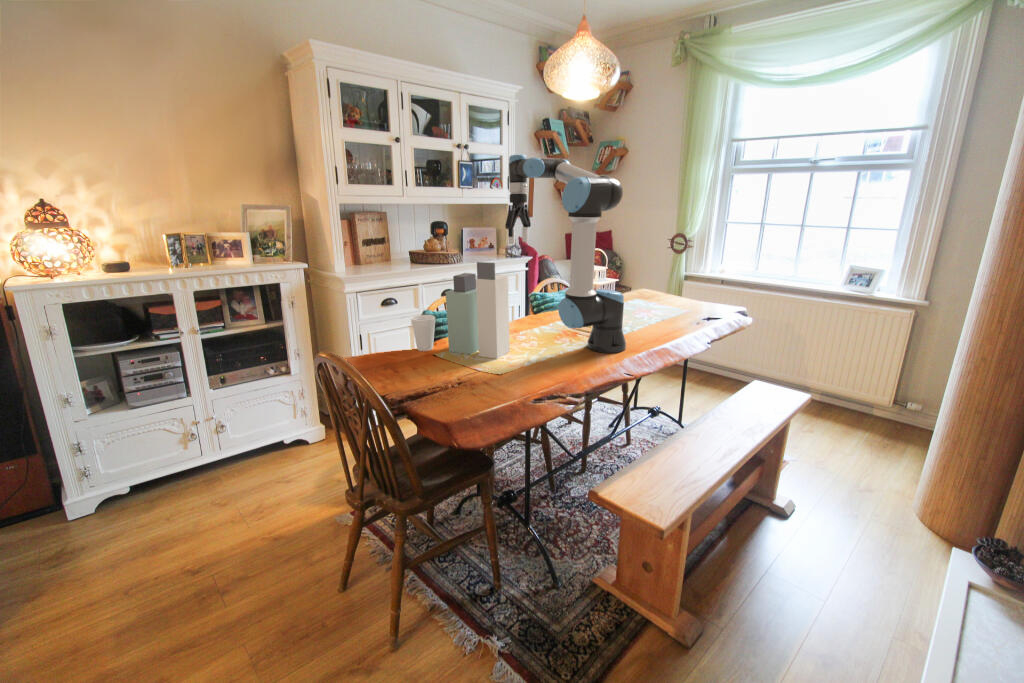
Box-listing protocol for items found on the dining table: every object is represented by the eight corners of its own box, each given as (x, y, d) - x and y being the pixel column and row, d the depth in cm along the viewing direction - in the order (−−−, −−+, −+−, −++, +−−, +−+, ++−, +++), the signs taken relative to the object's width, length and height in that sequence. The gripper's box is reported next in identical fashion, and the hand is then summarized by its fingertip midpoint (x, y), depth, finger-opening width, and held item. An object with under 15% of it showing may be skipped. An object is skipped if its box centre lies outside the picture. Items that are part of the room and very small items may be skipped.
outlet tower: (509, 351, 187) (507, 259, 176) (497, 359, 178) (494, 263, 168) (491, 348, 190) (489, 259, 180) (479, 356, 182) (475, 262, 171)
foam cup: (412, 346, 195) (410, 315, 191) (434, 344, 198) (432, 314, 194) (414, 353, 186) (412, 321, 182) (438, 350, 189) (436, 319, 185)
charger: (488, 284, 195) (488, 270, 193) (465, 292, 179) (464, 276, 178) (478, 283, 197) (477, 269, 195) (454, 291, 181) (453, 276, 180)
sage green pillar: (483, 347, 192) (481, 289, 185) (470, 354, 183) (467, 294, 176) (462, 344, 196) (460, 287, 189) (449, 351, 188) (445, 292, 181)
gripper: (512, 193, 192) (513, 245, 198) (537, 193, 213) (537, 240, 220) (496, 193, 196) (497, 245, 202) (523, 193, 217) (523, 240, 223)
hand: (518, 243), depth 211 cm, fingers open, 13 cm apart
